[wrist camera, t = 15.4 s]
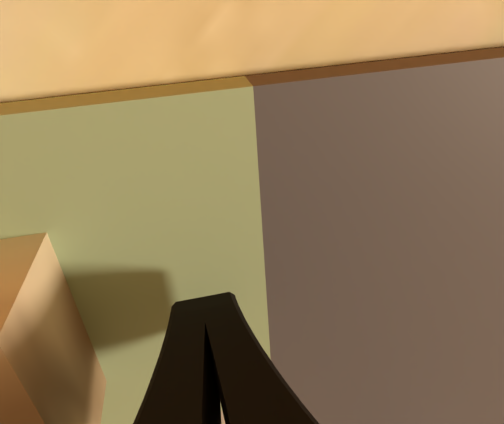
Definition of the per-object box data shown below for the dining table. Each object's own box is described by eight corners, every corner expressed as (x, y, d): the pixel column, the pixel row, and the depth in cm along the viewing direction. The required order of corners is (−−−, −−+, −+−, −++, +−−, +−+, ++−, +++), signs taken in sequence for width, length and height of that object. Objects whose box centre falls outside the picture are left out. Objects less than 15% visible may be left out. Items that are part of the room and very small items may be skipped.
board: (468, 460, 20) (481, 481, 19) (9, 577, 17) (2, 607, 17) (638, 31, 10) (683, 36, 9) (-415, 149, 7) (-494, 172, 6)
